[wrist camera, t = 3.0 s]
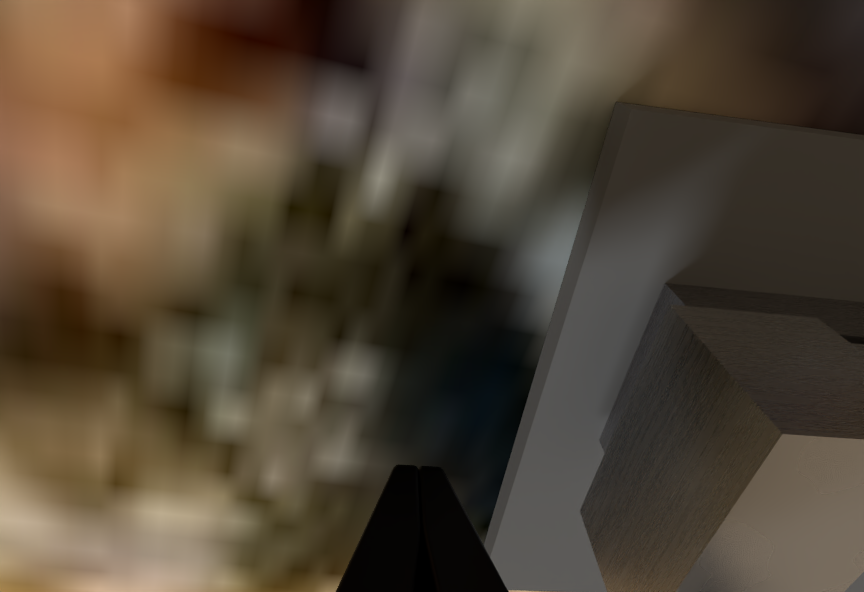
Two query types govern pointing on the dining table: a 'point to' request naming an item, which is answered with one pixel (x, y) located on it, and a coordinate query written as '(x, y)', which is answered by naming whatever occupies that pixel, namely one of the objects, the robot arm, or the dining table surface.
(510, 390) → the dining table surface
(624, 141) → the gray rectangular board
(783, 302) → the grey slotted plate
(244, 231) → the dining table surface
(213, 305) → the dining table surface
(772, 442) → the metal latch plate
